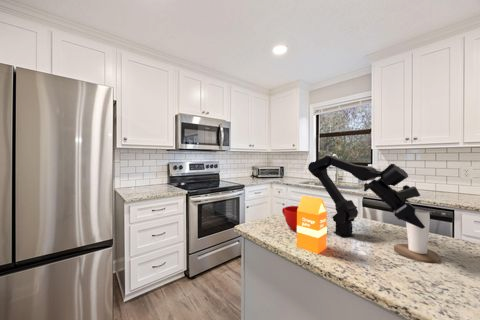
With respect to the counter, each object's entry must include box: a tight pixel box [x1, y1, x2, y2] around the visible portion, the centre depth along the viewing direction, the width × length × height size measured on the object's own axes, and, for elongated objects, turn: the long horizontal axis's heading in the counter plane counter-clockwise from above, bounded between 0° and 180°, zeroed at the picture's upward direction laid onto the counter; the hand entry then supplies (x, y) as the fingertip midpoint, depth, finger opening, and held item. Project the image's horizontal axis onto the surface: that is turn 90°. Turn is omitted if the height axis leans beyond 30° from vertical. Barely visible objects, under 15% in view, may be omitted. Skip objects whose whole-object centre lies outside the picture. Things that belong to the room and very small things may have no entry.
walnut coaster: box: [393, 243, 441, 264], centre depth 76 cm, size 13×13×1 cm
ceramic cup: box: [281, 205, 299, 232], centre depth 104 cm, size 13×17×10 cm
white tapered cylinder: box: [405, 208, 431, 254], centre depth 76 cm, size 7×7×15 cm
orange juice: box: [296, 195, 328, 255], centre depth 81 cm, size 8×9×20 cm
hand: (421, 225), depth 75 cm, fingers closed on white tapered cylinder, 7 cm apart
